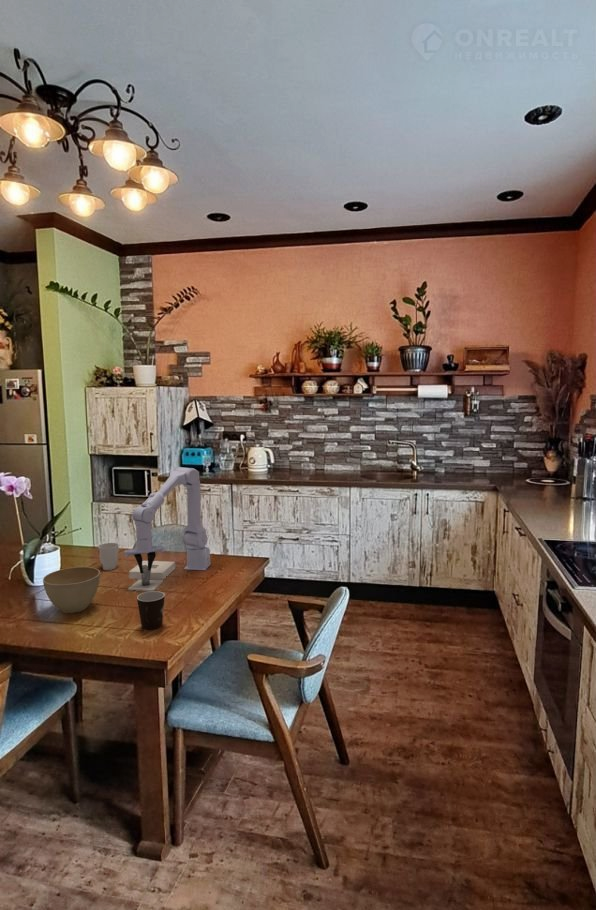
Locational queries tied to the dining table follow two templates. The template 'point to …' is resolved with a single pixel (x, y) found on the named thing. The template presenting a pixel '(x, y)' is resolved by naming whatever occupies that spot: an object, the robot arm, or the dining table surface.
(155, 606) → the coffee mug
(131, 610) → the dining table surface
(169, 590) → the dining table surface
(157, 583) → the grey mat
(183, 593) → the dining table surface
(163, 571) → the key housing
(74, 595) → the brown bowl
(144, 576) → the t key
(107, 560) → the cup
